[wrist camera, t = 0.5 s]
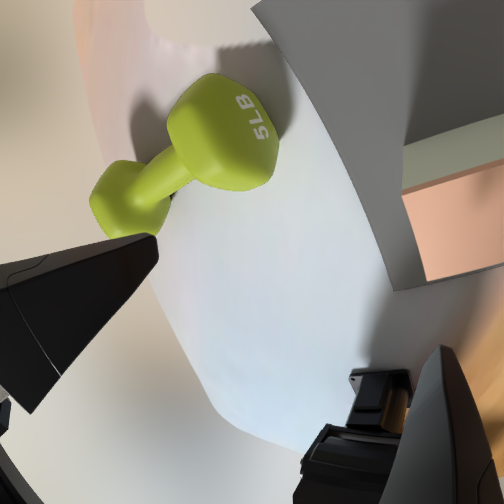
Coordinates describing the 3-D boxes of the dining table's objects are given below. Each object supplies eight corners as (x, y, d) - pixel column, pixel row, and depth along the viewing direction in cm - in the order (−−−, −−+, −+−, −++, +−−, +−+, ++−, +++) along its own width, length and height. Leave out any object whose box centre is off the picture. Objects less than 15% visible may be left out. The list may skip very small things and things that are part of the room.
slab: (529, 162, 10) (603, 228, 4) (422, 195, 15) (427, 281, 9) (514, 110, 9) (595, 137, 3) (403, 146, 14) (401, 195, 8)
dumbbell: (250, 65, 17) (180, 62, 12) (304, 163, 19) (255, 199, 14) (130, 160, 27) (73, 186, 22) (166, 226, 30) (114, 262, 24)
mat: (574, 235, 10) (578, 241, 9) (394, 285, 20) (393, 291, 20) (451, -70, 4) (452, -75, 4) (255, 10, 14) (250, 8, 14)
